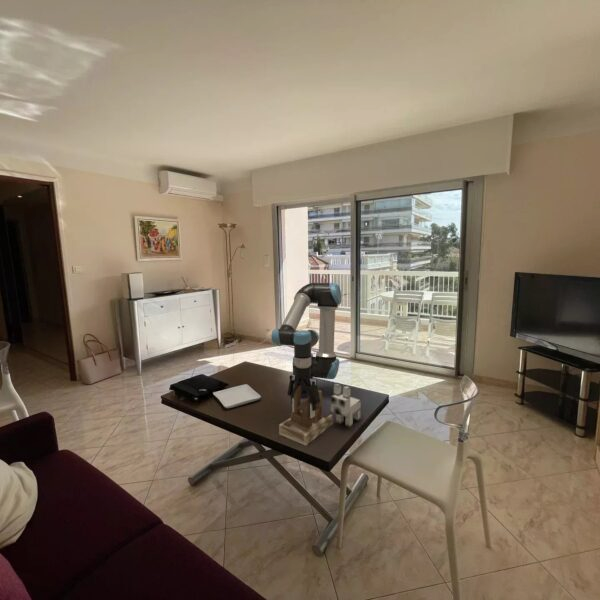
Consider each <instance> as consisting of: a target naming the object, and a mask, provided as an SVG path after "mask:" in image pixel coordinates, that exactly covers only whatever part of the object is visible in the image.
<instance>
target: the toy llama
mask: <svg viewBox="0 0 600 600" xmlns="http://www.w3.org/2000/svg"><path fill="white" fill-rule="evenodd" d="M361 400H362V399H360V398H357V397H354V396H351V386H348V385H344V386H343V387H342V383H339V382H336V383H334V384H333V395H331V396H330V413H333V414H336V418H335V419H336V421H335V422H336V423H337V424H340V425H341V424H342V423H345V424H344V425H345V427H347V428H351V427H353V424H354V423H353V422H354V420H355V421H360V420H361V413H362V412H361V411H362V410H361V405H362V402H361ZM344 417H345V419H344ZM359 419H360V420H359Z"/></svg>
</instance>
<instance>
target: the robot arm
mask: <svg viewBox="0 0 600 600" xmlns="http://www.w3.org/2000/svg"><path fill="white" fill-rule="evenodd" d="M341 303H342V291H341V288H340V285H339V284H337V283H334V282H311V283H308V284H305V285H303V286H302V287H301V288H300V289H298V291H297V292H296V293H295V295H294V296H293V303H292V305H291V307H290V309H289V310H288V313H286V316H285V318H284V320H283V322H282V324H281V326H280V328H274V329H273V330H272V331H271V337H270V338H271V342H272V344H274V345H280V346H289V347H291V346H292V347H293V353H294V355H293V357H292V374H291V375H288V376H289V381H288V382H289V384H288V389H287V396H289V397H290V401H291V402H290V403H291V404H292V406H291V407H292V411H293V412H295V408H294V398H293V396H294V393H295V391H296V389H297V388H298V386H301V398H302V399H303V398H304V399H305V398H307V399H308V395H309V398H310V400H311V403H310V418H313V417H314V416H315V410H316V404H317V403H319V402H320V397H319V392H318V390H319V387H318V379H324V380H334V379H336V377H337V375H338V372H339V368H340V359H339V358H337V354H336V353H335V329H336V327H335V325H336V310H337V309H338V308H339V305H340V304H341ZM311 304H317V308H318V309H319V326H318V327H319V331H318V332H317V331H316V330H315V329H308V330H303V329H301V330H300V329H299V330H298V329H297V328H298V326H299V324H300V322H301V319H302V318H303V315H304V313H305V311H306V309H307V307H309V306H310V305H311ZM317 343H318V352H316V354H315V356H314V355H313V353H312V348H314V347H315V346H316V345H317ZM314 378H318V379H315V380H314ZM294 382H296V384H295V387H294V389H293V383H294Z"/></svg>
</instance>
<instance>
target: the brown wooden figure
mask: <svg viewBox="0 0 600 600" xmlns="http://www.w3.org/2000/svg"><path fill="white" fill-rule="evenodd" d="M295 384H296V382H294V383H293V389H294V387H295ZM293 398H294V408H295V412H293V410H291V412H290V417H291V419H292V420H294V421H295V422H297V423H299V424H300V425H302V426H303V427H305V428H309V427H311V426H312V418H310V403H311V400H310V398H309V399H308V398H307V399H306V400H304V401H303V402H302V403H301V401H302V400H301V386H298V388H297V389H296V391H295V393H294V396H293ZM300 411H302V413H301V412H300Z"/></svg>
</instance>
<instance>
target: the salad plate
mask: <svg viewBox="0 0 600 600" xmlns="http://www.w3.org/2000/svg"><path fill="white" fill-rule="evenodd" d="M212 394H213V396H215V398H217V399H218V401H219V402H220V403H221V404H222V406H223V407H224V408H225V409H232V408H235V407H239V406H242V405H247V404H249V403H253V402H255V401H259V400H260V399H261V398H262V396H261V395H260V394H259V393H258V392H257V391H255V390H254V389H253V388H252V387H251V386H250V385H249V384H247V383H246V384H241V385H237V386H233V387H230V388H225V389H222V390H218V391H213V392H212Z"/></svg>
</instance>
